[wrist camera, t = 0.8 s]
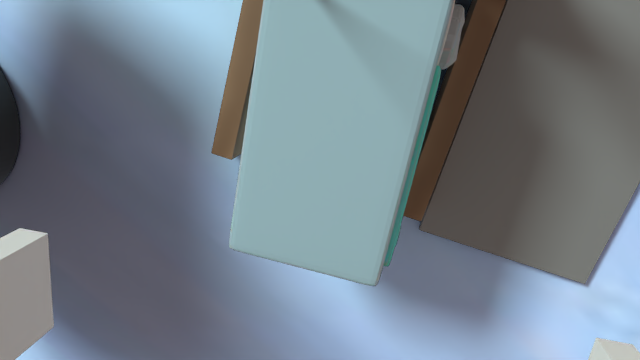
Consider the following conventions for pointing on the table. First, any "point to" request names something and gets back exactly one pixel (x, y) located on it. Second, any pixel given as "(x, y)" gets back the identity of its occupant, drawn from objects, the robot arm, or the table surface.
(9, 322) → the robot arm
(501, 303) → the table surface
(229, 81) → the shelf cradle
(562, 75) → the rubber mat
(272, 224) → the radio
